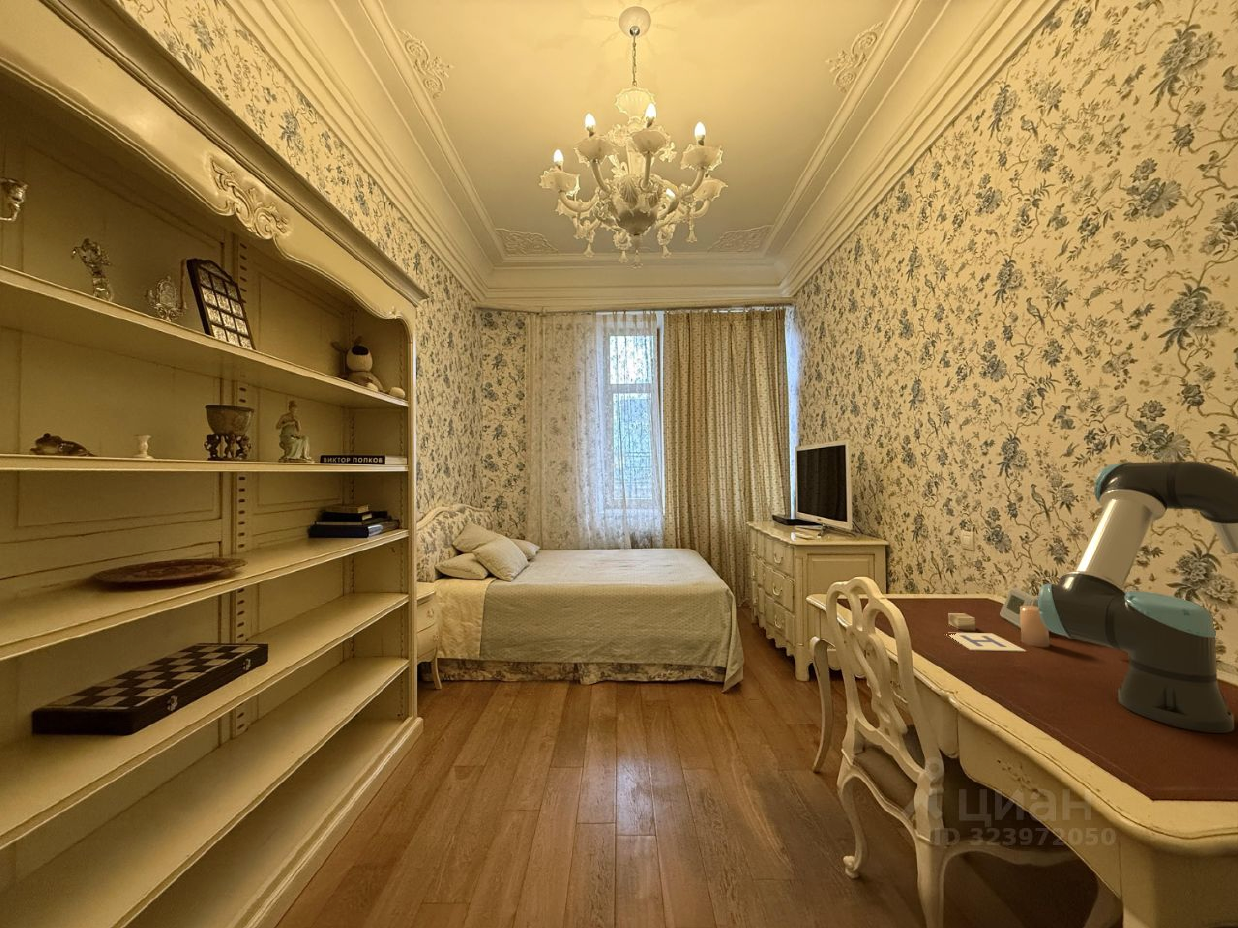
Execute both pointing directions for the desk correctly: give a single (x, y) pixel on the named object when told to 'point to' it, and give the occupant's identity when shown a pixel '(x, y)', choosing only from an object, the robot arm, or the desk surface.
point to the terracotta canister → (1033, 627)
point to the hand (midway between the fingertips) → (1071, 621)
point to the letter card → (985, 642)
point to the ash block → (961, 621)
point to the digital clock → (1017, 605)
